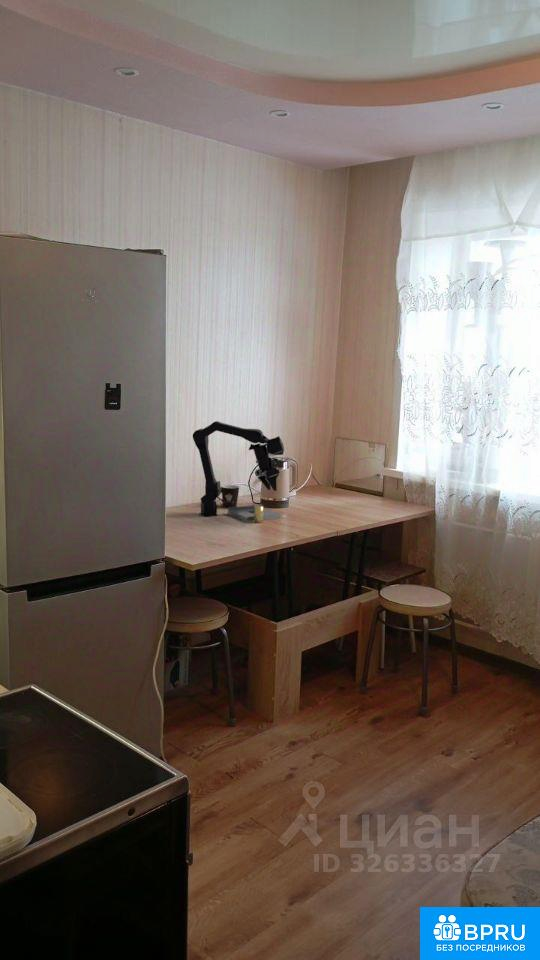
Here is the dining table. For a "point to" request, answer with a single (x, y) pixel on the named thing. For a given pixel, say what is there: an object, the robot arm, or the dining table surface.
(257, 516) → the gold rounded cylinder
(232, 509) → the jig
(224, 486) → the coffee mug
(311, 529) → the dining table surface
